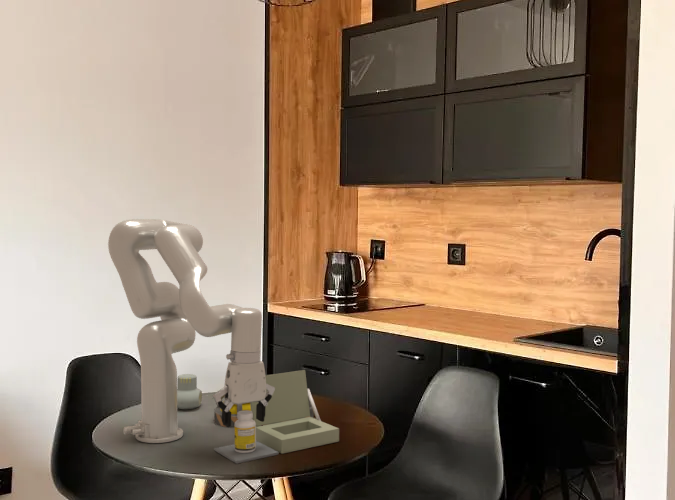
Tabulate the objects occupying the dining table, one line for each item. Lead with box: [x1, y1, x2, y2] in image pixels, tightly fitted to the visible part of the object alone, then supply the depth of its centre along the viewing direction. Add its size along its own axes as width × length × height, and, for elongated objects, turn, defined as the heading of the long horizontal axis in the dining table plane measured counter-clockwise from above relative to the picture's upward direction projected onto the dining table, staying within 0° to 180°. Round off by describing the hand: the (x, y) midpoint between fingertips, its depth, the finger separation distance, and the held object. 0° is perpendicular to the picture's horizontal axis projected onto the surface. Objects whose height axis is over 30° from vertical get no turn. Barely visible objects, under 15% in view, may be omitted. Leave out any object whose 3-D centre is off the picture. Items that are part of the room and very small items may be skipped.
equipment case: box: [250, 369, 340, 455], centre depth 200 cm, size 19×18×16 cm
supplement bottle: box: [234, 410, 257, 453], centre depth 188 cm, size 5×5×10 cm
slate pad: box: [213, 441, 279, 464], centre depth 189 cm, size 12×12×1 cm
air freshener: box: [177, 373, 203, 410], centre depth 231 cm, size 11×8×10 cm
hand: (243, 423), depth 189 cm, fingers open, 9 cm apart
